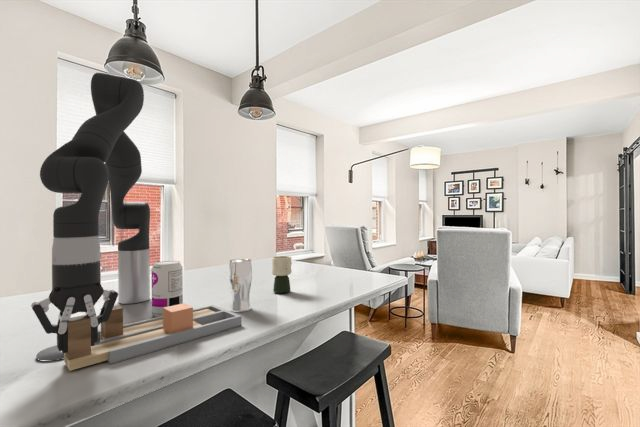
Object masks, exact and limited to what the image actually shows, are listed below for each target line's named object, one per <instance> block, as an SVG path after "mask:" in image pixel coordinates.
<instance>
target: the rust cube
mask: <svg viewBox="0 0 640 427" xmlns="http://www.w3.org/2000/svg"><path fill="white" fill-rule="evenodd" d="M193 309H194V308H193V306H191V305H188V304H186V303H183V304H179V305H174V306H169V307H164V308H163V329H164V330H166V331H167V332H169V333H170V334H171V333H175V332H179V331H182V330H186V329H190V328H193Z"/></svg>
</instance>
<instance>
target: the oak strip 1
mask: <svg viewBox="0 0 640 427" xmlns="http://www.w3.org/2000/svg"><path fill="white" fill-rule="evenodd" d="M197 326H201V324H199V323H197V322H195V321H193V328H194V327H197ZM66 332H67V333H68V352H67V353H64V359H63V361H64V363H65V366H66V367H67V369H68V371H70V372H71V371H74V370H77V369H81V368H84V367H88V366H91V365H95V364H99V363H103V362H107V360H109V350H111V349H115V348H119V347H123V346H126V345H130V344H134V343H137V342H141V341H145V340H149V339H152V338H156V337H160V336H164V335H167V334H170V333H169V332H167V331H166V330H164V329H159V330H155V331H151V332H147V333H143V334H139V335H135V336H131V337H127V338H123V339H119V340H115V341H111V342H107V343H103V344H99V345H95V346H91V318H88V316H86V314H83V315H78V316H73V317H70V320H69V322H68V326H67V329H66Z"/></svg>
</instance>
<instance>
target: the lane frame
mask: <svg viewBox="0 0 640 427" xmlns="http://www.w3.org/2000/svg"><path fill="white" fill-rule="evenodd" d="M204 309H209V310H212V311H214V313H210V314H206V315H202V316H198V317H194V318H193V321H195V322H197V323H199V324H201V326H197V327H194V328H190V329H186V330H182V331H179V332H175V333H171V334H167V335H164V336H160V337H156V338H152V339H149V340H145V341H141V342H137V343H134V344H130V345H126V346H123V347H119V348H115V349H111V350H109V360H106V362H107V363H108V364H109V365H114V364H116V363H120V362H124V361H126V360H130V359H134V358H137V357H141V356H143V355H146V354H149V353H154V352H156V351H157V352H158V351H161V350H164V349H167V348H168V349H169V348H170V347H174V346H177V345H180V344H184V343H189V342H191V341H194V340H197V339H202V338H204V337H208V336H211V335H215V334H219V333H221V332H224V331H227V330H232V329H235V328H238V327H242V324H243V323H242V315H241V314H237V313H236V312H232V311H231V310H227V309H225V308H222V307H220V306H217V305H214V304H211V305H206V306H201V307H197V308H193V312H196V311H200V310H204ZM161 319H163V316H161V317H152V318H148V319H143V320H139V321H134V322H131V323H126V324H123V328H127V327H131V326H135V325H140V324H144V323H148V322H153V321H157V320H161ZM159 329H163V325H161V326H157V327H153V328H149V329H145V330H140V331H136V332H132V333H128V334H124V335H120V336H116V337H112V338H108V339H104V340H100V334H101V329H100V330H99V329H98V340H97V342H95V343H94V346H95V345H99V344H103V343H107V342H111V341H115V340H119V339H123V338H127V337H131V336H135V335H139V334H143V333H147V332H151V331H155V330H159Z"/></svg>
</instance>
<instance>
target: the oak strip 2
mask: <svg viewBox="0 0 640 427" xmlns="http://www.w3.org/2000/svg"><path fill="white" fill-rule="evenodd" d="M101 309H102V307H100V310H101ZM210 313H214V311H212V310H209V309H204V310H200V311H196V312H193V318H194V317H198V316H202V315H206V314H210ZM123 325H124V307H122V306H121V305H120V304H116V305H114V307H113V309H112V312H111V314H110V317H109V319H108V320H107V321H106V322H102V323H100V330H101V334H100V340H104V339H108V338H112V337H116V336H120V335H124V334H128V333H132V332H136V331H140V330H145V329H149V328H153V327H157V326H161V325H163V319H161V320H157V321H153V322H148V323H144V324H140V325H135V326H131V327H127V328H123Z"/></svg>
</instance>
